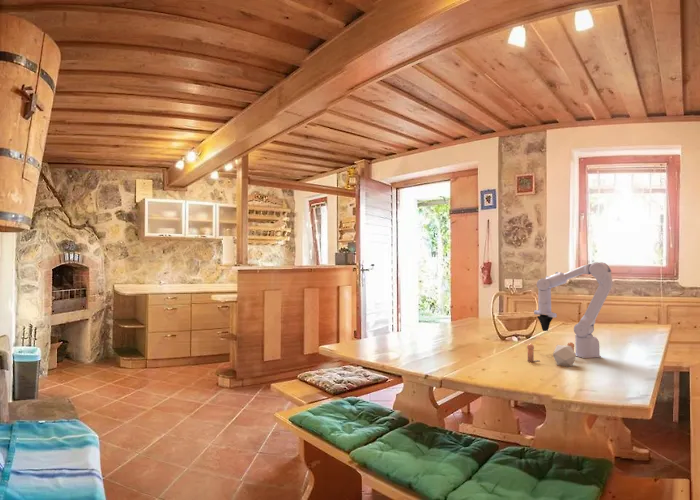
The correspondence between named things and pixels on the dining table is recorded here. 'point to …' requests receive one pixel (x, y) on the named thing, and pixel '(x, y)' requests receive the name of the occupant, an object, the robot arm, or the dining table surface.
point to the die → (564, 355)
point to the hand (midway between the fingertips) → (545, 330)
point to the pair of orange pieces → (531, 351)
